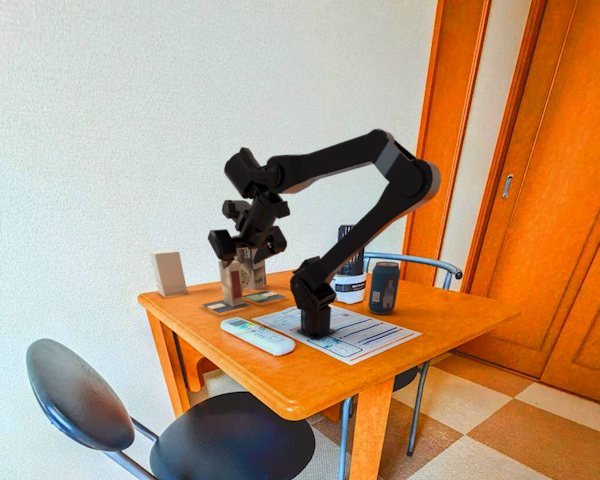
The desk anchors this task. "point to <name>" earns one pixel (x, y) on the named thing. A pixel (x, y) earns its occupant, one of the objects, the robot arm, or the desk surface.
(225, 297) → the beige and red box
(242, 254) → the coffee box
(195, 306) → the desk surface
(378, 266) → the soda can
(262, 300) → the grey flat square block
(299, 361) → the desk surface
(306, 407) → the desk surface
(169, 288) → the white packaging box
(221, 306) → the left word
